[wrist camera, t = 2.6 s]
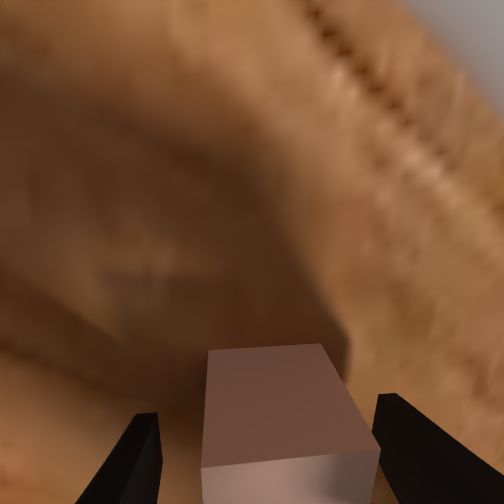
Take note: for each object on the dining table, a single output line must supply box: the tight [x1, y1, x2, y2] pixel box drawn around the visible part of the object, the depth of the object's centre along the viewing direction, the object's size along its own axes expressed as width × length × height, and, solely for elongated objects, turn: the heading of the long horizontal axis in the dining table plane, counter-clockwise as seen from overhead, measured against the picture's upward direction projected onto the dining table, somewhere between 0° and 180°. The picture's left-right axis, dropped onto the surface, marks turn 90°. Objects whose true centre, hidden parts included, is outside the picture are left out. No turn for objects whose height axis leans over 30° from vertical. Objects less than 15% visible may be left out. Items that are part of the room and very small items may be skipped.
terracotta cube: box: [201, 343, 381, 504], centre depth 8 cm, size 4×4×4 cm
